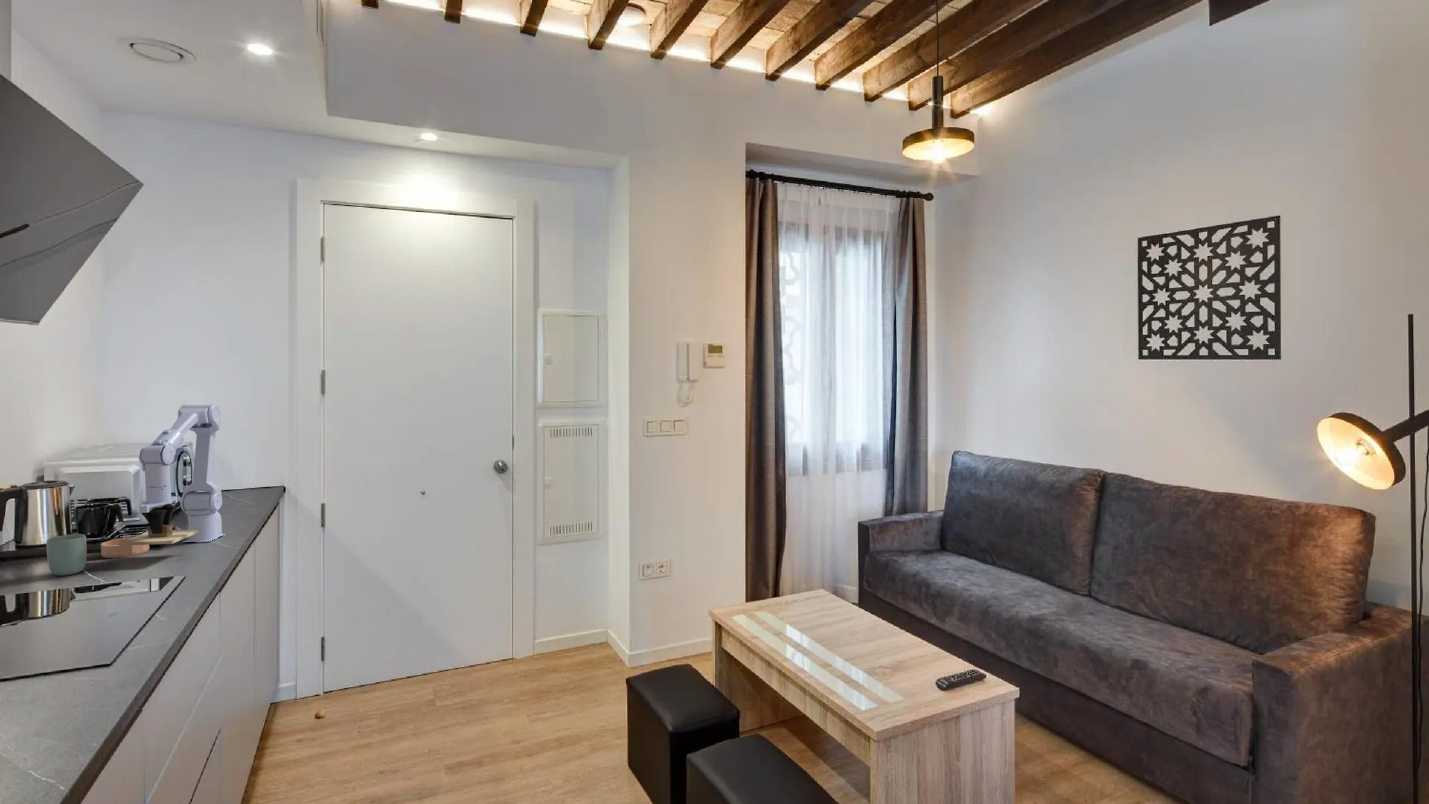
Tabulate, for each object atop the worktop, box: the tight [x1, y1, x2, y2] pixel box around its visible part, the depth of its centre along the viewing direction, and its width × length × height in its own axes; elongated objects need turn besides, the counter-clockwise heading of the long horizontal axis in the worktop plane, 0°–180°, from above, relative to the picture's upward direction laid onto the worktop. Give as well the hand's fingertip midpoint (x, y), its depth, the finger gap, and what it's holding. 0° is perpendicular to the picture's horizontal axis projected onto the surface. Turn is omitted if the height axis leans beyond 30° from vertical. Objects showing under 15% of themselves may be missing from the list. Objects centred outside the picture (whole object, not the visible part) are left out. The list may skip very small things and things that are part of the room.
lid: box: [119, 524, 199, 546], centre depth 202 cm, size 14×14×4 cm
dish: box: [100, 536, 150, 559], centre depth 208 cm, size 11×11×4 cm
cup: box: [46, 533, 88, 577], centre depth 187 cm, size 8×8×10 cm
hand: (160, 532), depth 202 cm, fingers closed on lid, 2 cm apart
